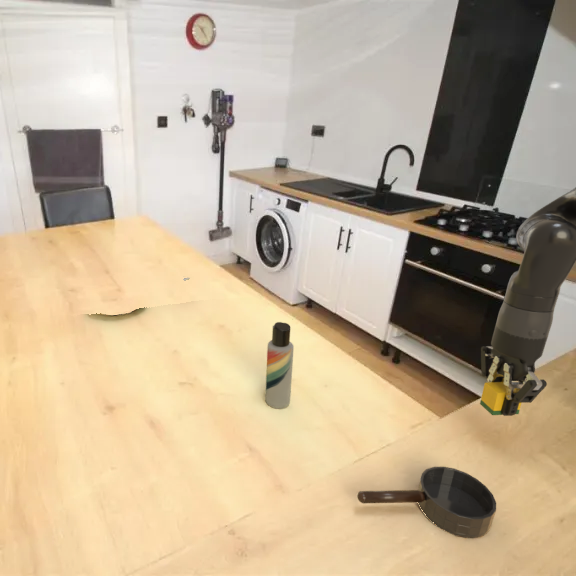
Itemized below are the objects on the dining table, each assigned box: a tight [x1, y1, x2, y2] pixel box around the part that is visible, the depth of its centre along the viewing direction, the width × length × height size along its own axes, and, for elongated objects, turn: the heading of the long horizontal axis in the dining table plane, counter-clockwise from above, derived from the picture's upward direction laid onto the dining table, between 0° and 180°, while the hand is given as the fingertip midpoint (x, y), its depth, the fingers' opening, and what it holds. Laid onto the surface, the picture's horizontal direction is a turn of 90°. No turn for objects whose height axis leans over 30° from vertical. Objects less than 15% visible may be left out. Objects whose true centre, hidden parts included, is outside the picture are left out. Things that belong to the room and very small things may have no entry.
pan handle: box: [356, 489, 425, 504], centre depth 67 cm, size 11×2×2 cm, turn 90°
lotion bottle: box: [264, 321, 295, 410], centre depth 92 cm, size 6×6×20 cm
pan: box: [417, 466, 497, 539], centre depth 67 cm, size 10×10×4 cm
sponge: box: [479, 381, 522, 416], centre depth 79 cm, size 5×4×5 cm
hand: (499, 407), depth 79 cm, fingers closed on sponge, 3 cm apart
